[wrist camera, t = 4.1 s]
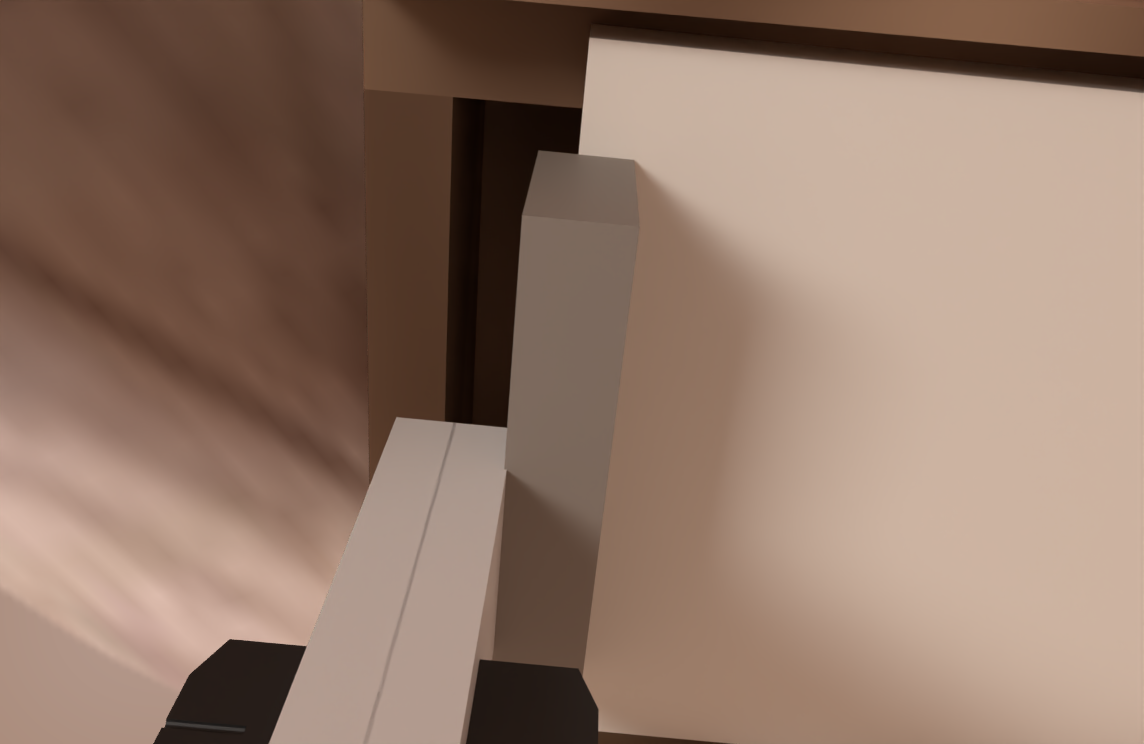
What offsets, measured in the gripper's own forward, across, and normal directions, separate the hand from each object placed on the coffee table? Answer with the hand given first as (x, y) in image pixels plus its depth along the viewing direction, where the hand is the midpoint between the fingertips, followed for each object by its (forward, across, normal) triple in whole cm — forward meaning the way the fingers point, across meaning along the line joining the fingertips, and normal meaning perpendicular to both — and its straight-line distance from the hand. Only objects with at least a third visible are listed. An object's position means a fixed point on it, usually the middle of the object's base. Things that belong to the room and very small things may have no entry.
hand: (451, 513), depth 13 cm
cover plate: (+3, +10, 0) cm, 11 cm away
